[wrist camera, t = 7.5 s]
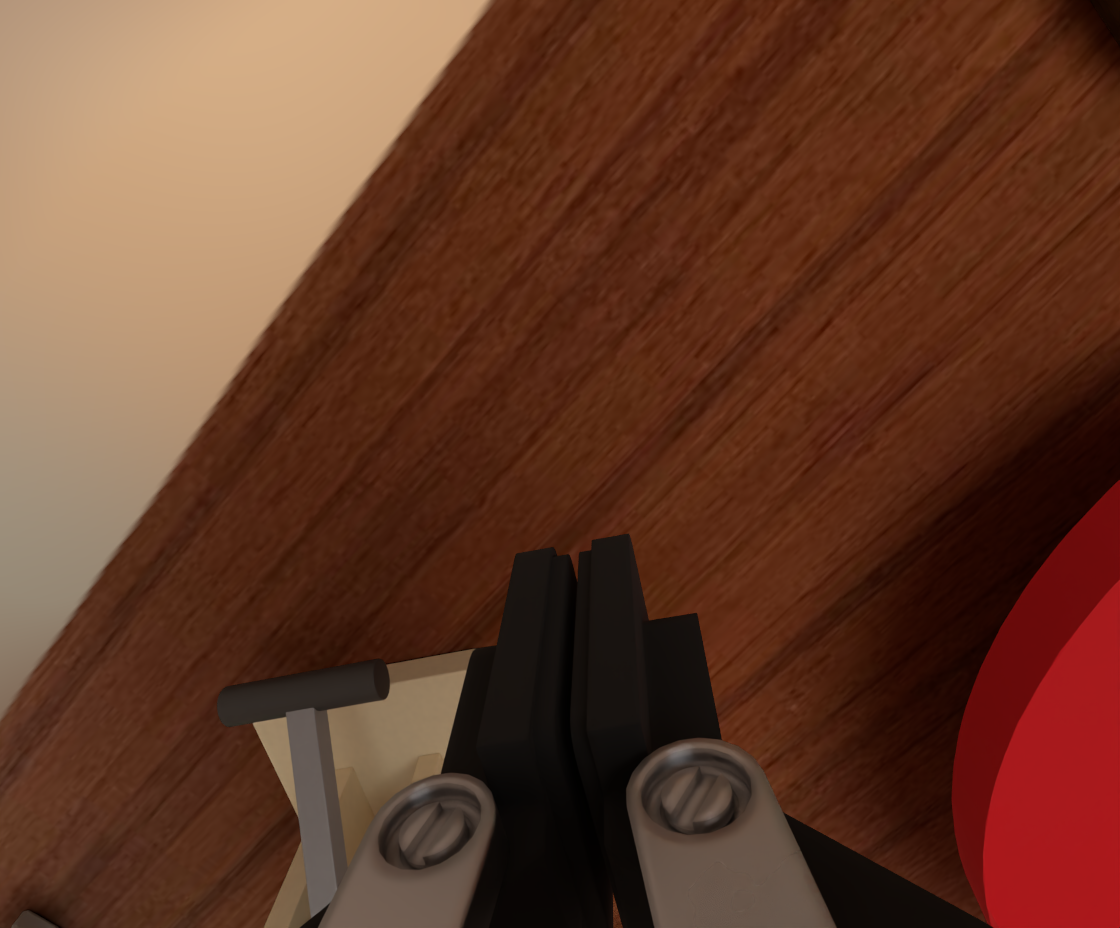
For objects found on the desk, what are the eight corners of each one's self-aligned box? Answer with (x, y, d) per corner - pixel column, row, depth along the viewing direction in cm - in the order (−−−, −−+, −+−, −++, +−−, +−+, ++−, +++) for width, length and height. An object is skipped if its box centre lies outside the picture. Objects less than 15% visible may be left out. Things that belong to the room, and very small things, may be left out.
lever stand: (259, 687, 35) (101, 938, 24) (477, 647, 33) (415, 895, 22) (351, 882, 39) (253, 1171, 28) (547, 854, 38) (524, 1147, 27)
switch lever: (244, 682, 30) (206, 691, 28) (391, 655, 29) (365, 662, 27) (284, 1027, 28) (246, 1068, 26) (443, 1008, 27) (419, 1049, 25)
